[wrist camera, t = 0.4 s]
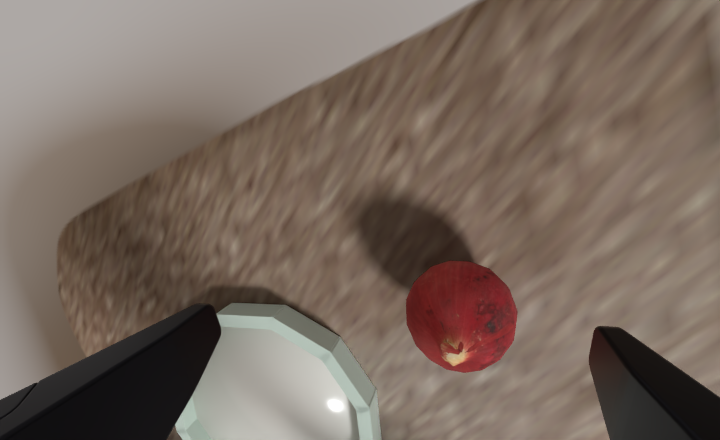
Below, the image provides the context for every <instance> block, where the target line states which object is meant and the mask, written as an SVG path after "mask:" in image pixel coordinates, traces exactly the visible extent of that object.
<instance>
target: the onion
mask: <svg viewBox="0 0 720 440" xmlns="http://www.w3.org/2000/svg"><path fill="white" fill-rule="evenodd" d="M406 314H407V326H408V328H409V330H410V332H411V335H412V337H413V340H414V342H415V344H416V346H417V347H418V348H419V349H420V350H421V351H422V352H423V353H424V354H425V355H426V356H427V357H428V358H429V359H430V360H431V361H433V362H435V363H436V364H438V365H440V366H442V367H443V368H445V369H447V370H453V371H458V372H463V373H466V372H473V371H479V370H483V369H485V368H486V367H488V366H490V365H492V364H493V363H495V362H497V361H498V360H500V359H501V357H502V356H503V355H504V353H505V352H506V351H507V349H508V348H509V347H510V345H511V344H512V342H513V340H514V335H515V328H516V321H517V309H516V306H515V303H514V301H513V298H512V295H511V292H510V290H509V288H508V287H507V285H506V284H505V283H504V282H503V281H502V280H501V279H500V278H499V277H498V276H497V275H496V274H495V273H493V272H492V271H491V270H490V269H489V268H486V267H483V266H480V265H478V264H475V263H472V262H468V261H447V262H444V263H441V264H438V265H434V266H432V267H430V268H429V269H428V270H427V271H426V272H425V273H423V274H422V275H421V276H420V277H419V278H418V279H417V280H416V281H415V282H414V284H413V286H412V288H411V290H410V292H409V295H408V297H407V299H406Z"/></svg>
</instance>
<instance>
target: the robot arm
mask: <svg viewBox="0 0 720 440" xmlns="http://www.w3.org/2000/svg"><path fill="white" fill-rule="evenodd" d="M220 337H221V326H220V323H219V320H218V317H217V314H216V311H215V309H214V307H213V306H212V305H210V304H195V305H193V306H190V307H188V308H186V309H184V310H182V311H180V312H178V313H176V314H174V315H172V316H170V317H168V318H166V319H164V320H162V321H160V322H158V323H156V324H154V325H152V326H150V327H148V328H146V329H144V330H142V331H140V332H138V333H136V334H134V335H132V336H130V337H128V338H125V339H123V340H121V341H119V342H117V343H115V344H113V345H111V346H109V347H107V348H105V349H103V350H101V351H99V352H97V353H95V354H93V355H91V356H89V357H87V358H85V359H83V360H81V361H79V362H77V363H75V364H73V365H71V366H69V367H67V368H65V369H63V370H61V371H58V372H56V373H55V374H52V375H50V376H48V377H46V378H44V379H42V380H40V381H39V382H38V383H34V384H32V385H30V386H28V387H26V388H24V389H22V390H20V391H18V392H16V393H14V394H12V395H9V396H8V397H5V398H3V399H1V400H0V440H166V439H167V438H168V436H169V434H170V433H171V431H172V429H173V428H174V426H175V424H176V422H177V421H178V419H179V417H180V416H181V414H182V412H183V411H184V409H185V407H186V405H187V404H188V402H189V400H190V399H191V397H192V395H193V393H194V391H195V389H196V387H197V385H198V383H199V381H200V379H201V377H202V375H203V373H204V371H205V369H206V367H207V365H208V362H209V360H210V358H211V356H212V354H213V352H214V350H215V348H216V346H217V343H218V341H219V339H220ZM589 365H590V370H591V374H592V377H593V381H594V384H595V388H596V392H597V395H598V399H599V402H600V406H601V409H602V413H603V417H604V420H605V424H606V427H607V431H608V434H609V438H610V440H720V397H719V396H717V395H716V394H714V393H713V392H712V391H710V390H709V389H707V388H706V387H704V386H703V385H702V384H700V383H699V382H697V381H696V380H695V379H693V378H692V377H690V376H689V375H687V374H686V373H685V372H683V371H682V370H680V369H679V368H677V367H676V366H675V365H673V364H672V363H670V362H669V361H667V360H666V359H665V358H663V357H662V356H660V355H659V354H657V353H656V352H655V351H653V350H652V349H650V348H649V347H647V346H646V345H645V344H643V343H642V342H640V341H639V340H637V339H636V338H635V337H633V336H632V335H630V334H629V333H627V332H626V331H625V330H623V329H621V328H619V327H609V326H598V327H596V328H595V330H594V333H593V338H592V343H591V349H590V354H589Z"/></svg>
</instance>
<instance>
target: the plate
mask: <svg viewBox="0 0 720 440" xmlns="http://www.w3.org/2000/svg"><path fill="white" fill-rule="evenodd" d="M216 314H217V317H218V320H219V323H220V326H221V337H220V339H219V341H218V343H217V346H216V348H215V350H214V352H213V354H212V356H211V358H210V360H209V362H208V365H207V367H206V369H205V371H204V373H203V375H202V377H201V379H200V381H199V383H198V385H197V387H196V389H195V391H194V393H193V395H192V397H191V399H190V400H189V402H188V404H187V405H186V407H185V409H184V411H183V412H182V414H181V416H180V417H179V419H178V421H177V422H176V424H175V426H176V430H177V432H178V434H179V435H180V437H181V438H182V440H382V438H381V428H380V419H379V409H378V399H377V389H376V388H375V387H374V385H373V384H372V382H371V381H370V380H369V378H368V377H367V375H366V374H365V372H364V371H363V369H362V368H361V366H360V365H359V364H358V362H357V361H356V359H355V358H354V356H353V355H352V353H351V352H350V350H349V349H348V347H347V346H346V345H345V343H344V342H343V340H342V339H341V337H340V336H338V335H336V334H334V333H333V332H331V331H329V330H328V329H326V328H324V327H323V326H321V325H319V324H317V323H316V322H314V321H312V320H311V319H309V318H307V317H306V316H304V315H302V314H300V313H299V312H297V311H295V310H294V309H292V308H290V307H289V306H287V305H275V304H250V303H231V304H229V305H228V306H226V307H225V308H224V309H222V310H221V311H219V312H218V313H216Z"/></svg>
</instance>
